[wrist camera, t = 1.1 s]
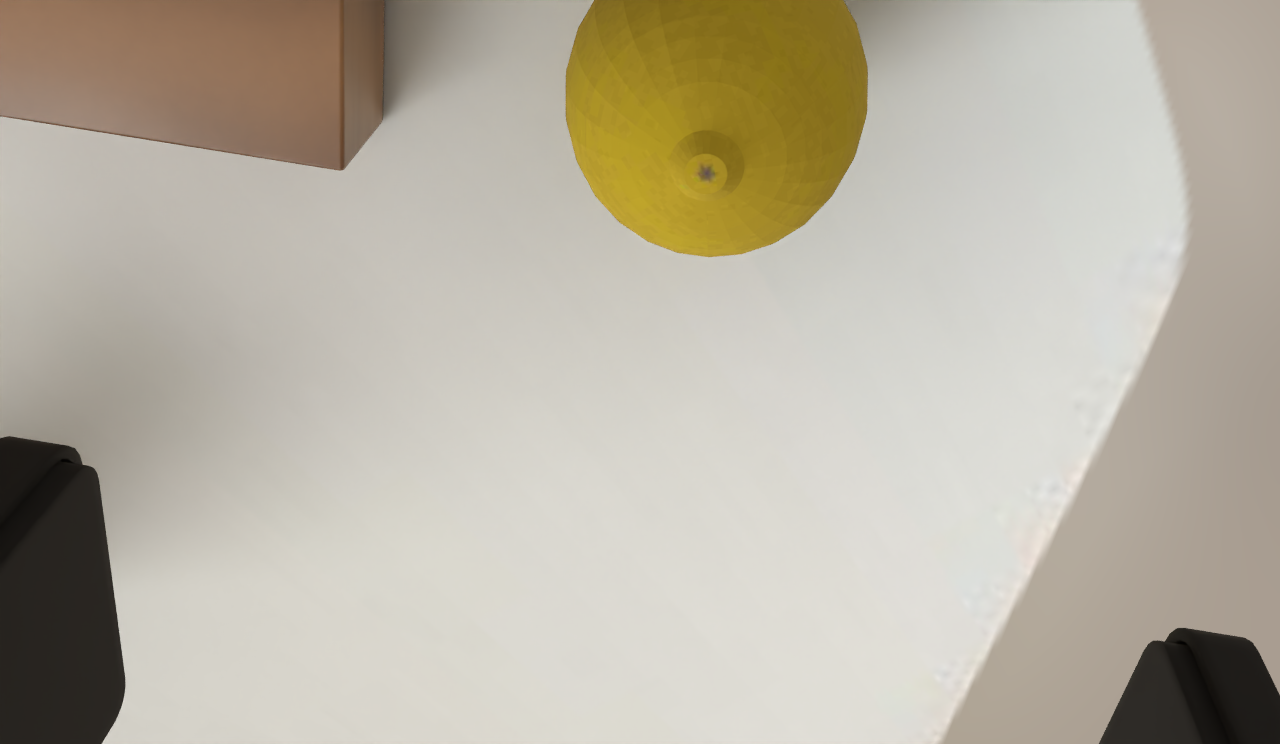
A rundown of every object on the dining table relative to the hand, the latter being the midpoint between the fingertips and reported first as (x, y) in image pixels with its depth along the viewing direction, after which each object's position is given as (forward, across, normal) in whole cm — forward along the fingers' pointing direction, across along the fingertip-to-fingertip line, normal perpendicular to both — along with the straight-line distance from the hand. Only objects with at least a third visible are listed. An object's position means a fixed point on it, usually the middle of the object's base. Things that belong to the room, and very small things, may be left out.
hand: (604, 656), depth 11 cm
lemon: (+18, 0, -1) cm, 18 cm away
